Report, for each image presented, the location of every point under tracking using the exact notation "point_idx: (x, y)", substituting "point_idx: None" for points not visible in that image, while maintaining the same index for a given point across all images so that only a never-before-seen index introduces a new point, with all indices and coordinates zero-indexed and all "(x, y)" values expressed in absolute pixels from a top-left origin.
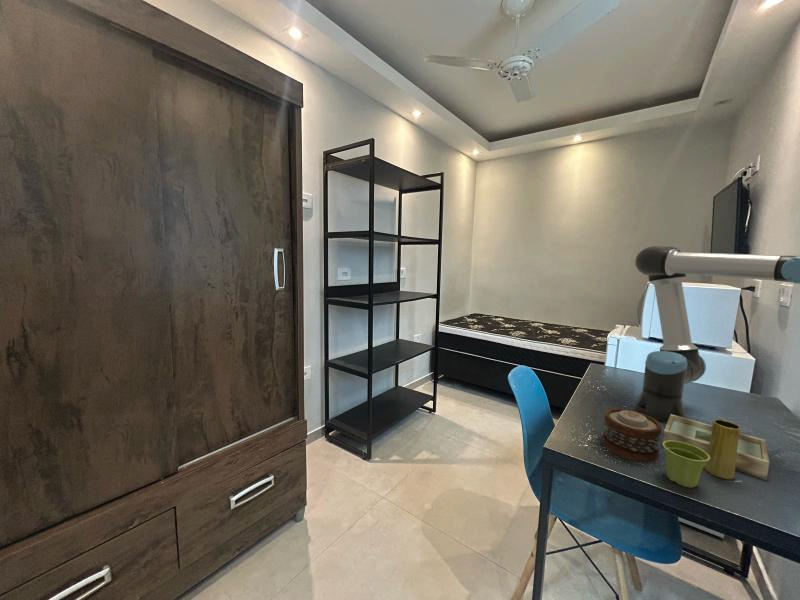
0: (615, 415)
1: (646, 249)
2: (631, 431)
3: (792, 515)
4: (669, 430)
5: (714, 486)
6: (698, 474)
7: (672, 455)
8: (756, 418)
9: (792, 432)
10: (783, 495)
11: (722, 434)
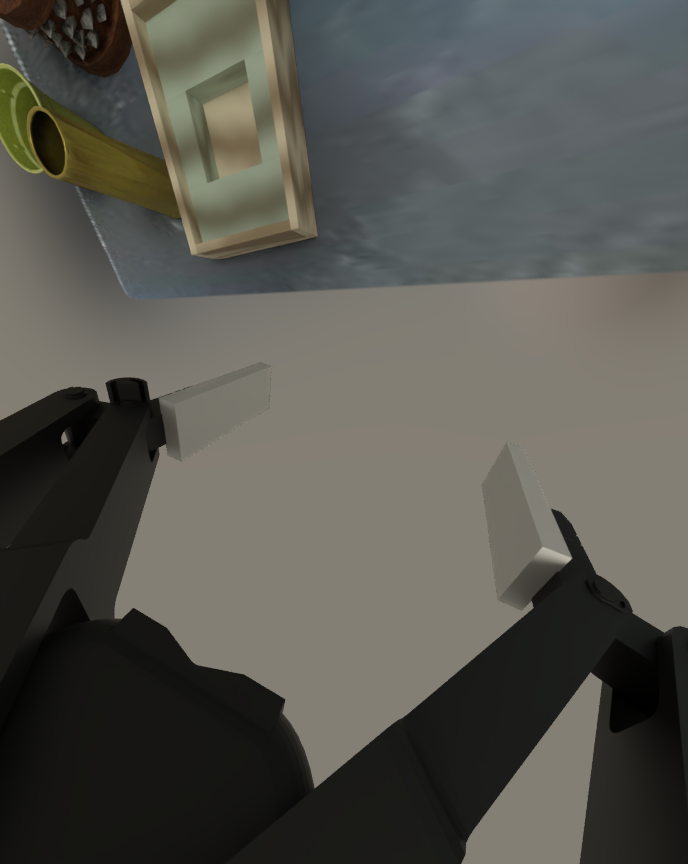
0: None
1: None
2: None
3: (161, 297)
4: (160, 4)
5: None
6: None
7: (3, 112)
8: (682, 151)
9: (578, 274)
10: (197, 285)
11: (58, 154)
